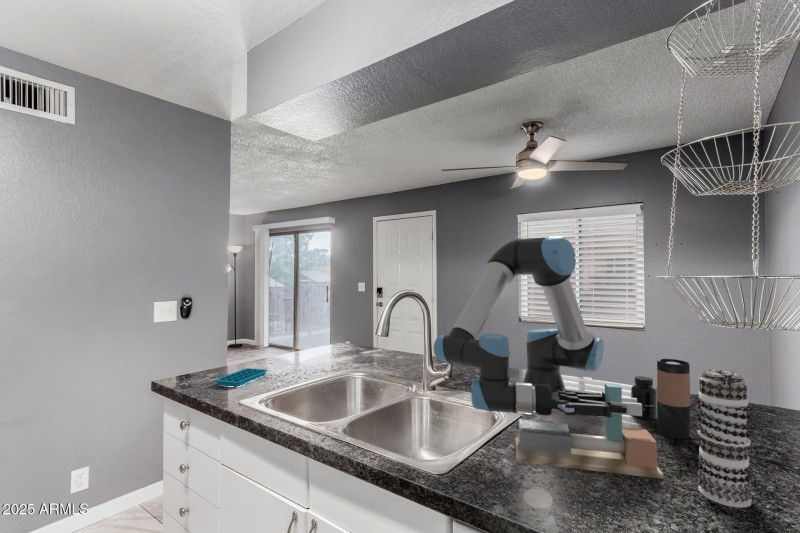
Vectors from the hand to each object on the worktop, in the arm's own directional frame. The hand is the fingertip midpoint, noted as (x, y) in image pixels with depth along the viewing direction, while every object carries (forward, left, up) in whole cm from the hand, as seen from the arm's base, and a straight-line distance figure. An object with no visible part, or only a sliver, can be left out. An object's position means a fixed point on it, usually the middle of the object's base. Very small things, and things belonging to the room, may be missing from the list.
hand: (638, 406), depth 94 cm
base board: (0, -12, -13) cm, 18 cm away
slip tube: (0, -8, -11) cm, 14 cm away
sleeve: (0, -21, -12) cm, 25 cm away
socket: (0, 0, -12) cm, 13 cm away
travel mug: (-22, +15, -14) cm, 30 cm away
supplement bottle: (-34, +11, -14) cm, 38 cm away
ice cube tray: (-37, -137, -14) cm, 143 cm away
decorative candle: (+10, +13, -14) cm, 21 cm away
